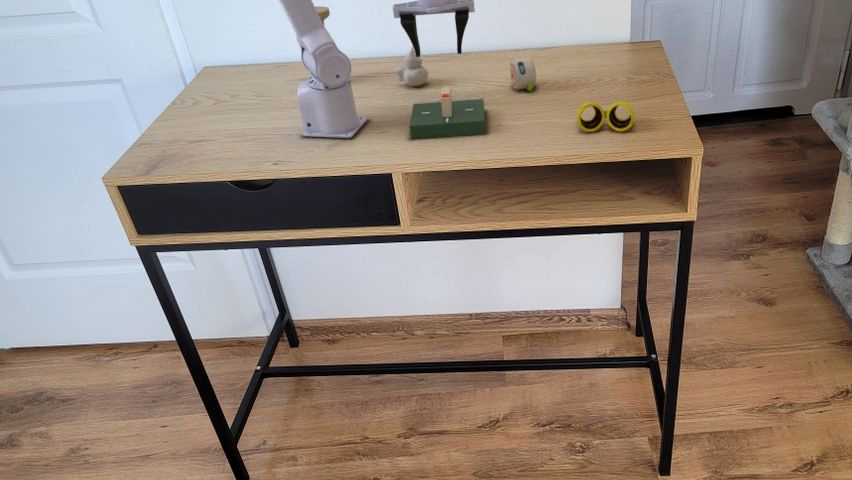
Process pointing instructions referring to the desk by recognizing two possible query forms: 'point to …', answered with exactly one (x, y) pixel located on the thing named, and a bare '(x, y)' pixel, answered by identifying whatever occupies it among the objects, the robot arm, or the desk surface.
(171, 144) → the desk surface
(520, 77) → the roller toy
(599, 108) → the opera glasses
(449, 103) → the red topped block
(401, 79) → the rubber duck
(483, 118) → the console
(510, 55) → the desk surface
